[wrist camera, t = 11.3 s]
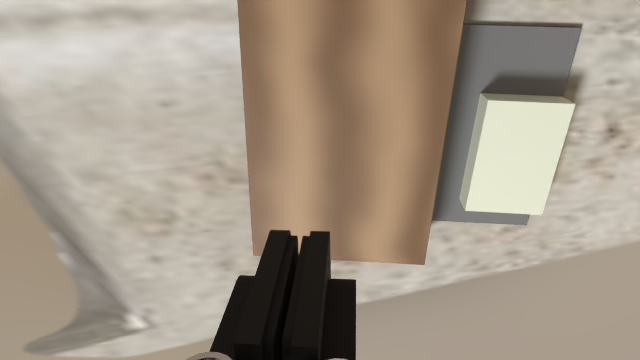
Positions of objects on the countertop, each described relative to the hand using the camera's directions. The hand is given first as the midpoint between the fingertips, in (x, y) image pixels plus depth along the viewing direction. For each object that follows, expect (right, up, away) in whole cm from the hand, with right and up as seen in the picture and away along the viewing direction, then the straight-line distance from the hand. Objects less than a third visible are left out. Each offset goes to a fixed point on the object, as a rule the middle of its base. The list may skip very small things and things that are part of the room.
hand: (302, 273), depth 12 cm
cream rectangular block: (+15, +4, +19) cm, 25 cm away
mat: (+14, +6, +21) cm, 26 cm away
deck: (+2, +8, +21) cm, 23 cm away
